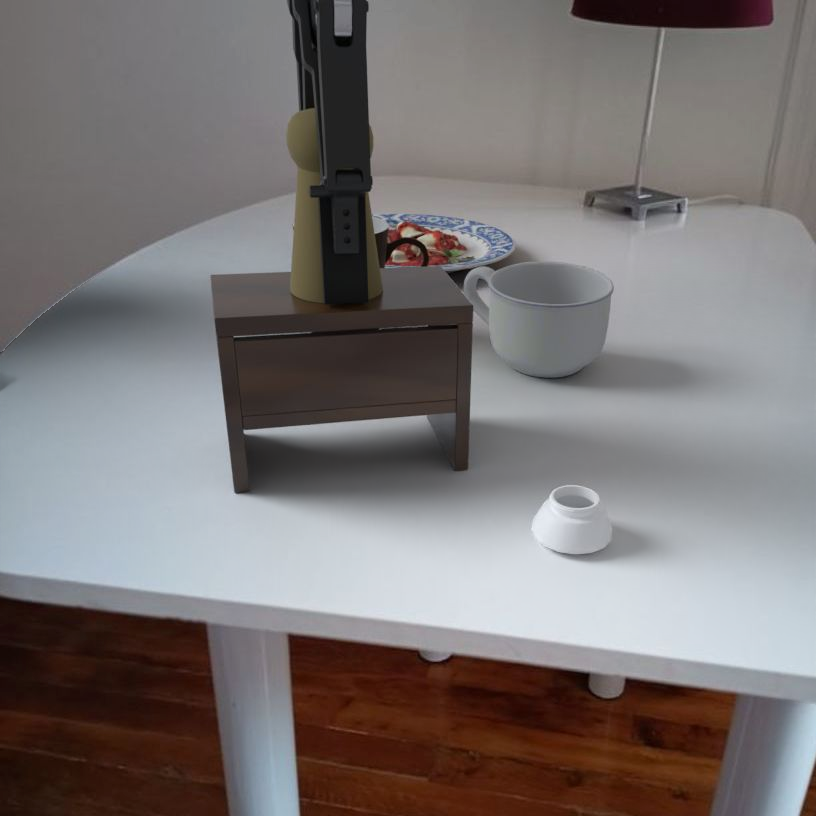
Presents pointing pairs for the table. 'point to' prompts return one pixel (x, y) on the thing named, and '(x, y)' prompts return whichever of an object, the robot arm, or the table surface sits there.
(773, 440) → the table surface
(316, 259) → the yellow tapered round-topped cylinder
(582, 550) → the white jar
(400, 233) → the ceramic plate
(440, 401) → the wooden nightstand
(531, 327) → the teacup
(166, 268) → the table surface
